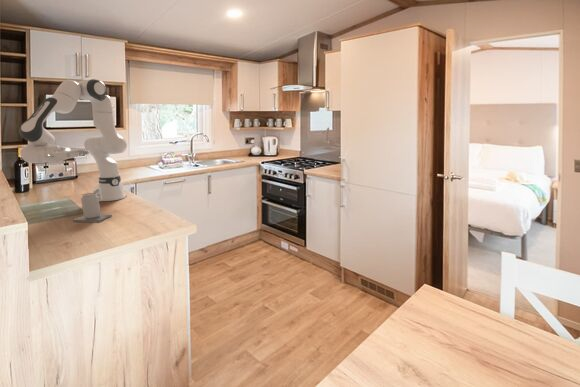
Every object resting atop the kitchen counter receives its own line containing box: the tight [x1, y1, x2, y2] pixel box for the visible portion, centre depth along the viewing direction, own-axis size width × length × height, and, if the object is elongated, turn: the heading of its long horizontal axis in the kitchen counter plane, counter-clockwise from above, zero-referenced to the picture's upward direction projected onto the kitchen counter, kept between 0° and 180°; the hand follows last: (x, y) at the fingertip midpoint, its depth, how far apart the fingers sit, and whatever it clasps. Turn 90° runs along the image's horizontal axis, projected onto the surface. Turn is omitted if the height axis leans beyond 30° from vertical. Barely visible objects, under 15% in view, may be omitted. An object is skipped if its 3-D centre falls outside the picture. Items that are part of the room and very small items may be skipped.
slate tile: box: [72, 214, 113, 223], centre depth 179 cm, size 14×10×1 cm
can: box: [80, 192, 101, 219], centre depth 178 cm, size 8×8×12 cm
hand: (84, 153), depth 183 cm, fingers open, 8 cm apart
